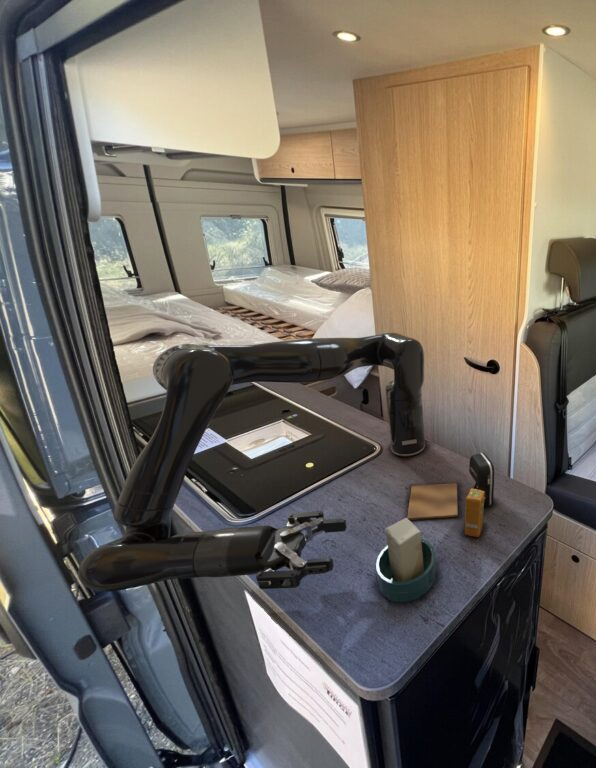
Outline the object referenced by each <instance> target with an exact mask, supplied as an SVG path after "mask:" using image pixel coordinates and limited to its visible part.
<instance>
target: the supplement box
mask: <svg viewBox="0 0 596 768" xmlns="http://www.w3.org/2000/svg"><path fill="white" fill-rule="evenodd" d="M484 495H485V492H484V491H482V490H477V489H473V488H470V489H469V493H468V494H467V496H466V498H465V509H464V510H465V512H464V535H466V536H470V537H475V538H479V537H480V535H481V533H482V530H483V525H484V509H485V508H484V507H485V506H484Z"/></svg>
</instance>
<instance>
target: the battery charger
mask: <svg viewBox="0 0 596 768" xmlns="http://www.w3.org/2000/svg"><path fill="white" fill-rule="evenodd" d="M468 468H469V470H468V472H469V474H470V476H471V477H472V479H473V480H474V482H475V483H474V486H473V488H472V489H477V490H482V491H484V492H485V495H484V507H488V506H491V505H493V504H494V490H495V466H494V463H493V462H492V461H491V459H490V458H489V457H488V455H487V454H486V453H485V452H479V453H476V454H473V455H471V456H470V458H469V467H468Z"/></svg>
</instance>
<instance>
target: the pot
mask: <svg viewBox="0 0 596 768" xmlns="http://www.w3.org/2000/svg"><path fill="white" fill-rule="evenodd" d="M421 544H422V555H423V566H424V573H423V574H421V575H420V576H418V577H417V578H415V579H412V580H409V581H402V582H398V581H397V580H396V579H395V578H394V576H393V575H392V573H391V566H390V559H389V551H388V544H386V545H385V547H383V549H382V550H381V551H380V552H379V554H378V555H377V557H376V561H375V572H376V578H377V579H376V580H377V585H378V589H379V592H380V593H381V594H382V596H383V597H384V598H386V599H387V600H389V601H392V602H395V603H407V602H412V601H415V600H417V599H419V598H421V597H423V596H424V595H425V594H426V593H427V592H428V591H430V589H431V588H432V586H433V585H434V583H435V580H436V577H437V562H436V552H435V549H434V546H433V545H432V544H431V543H430V542H429V541H427V540H425V539H423V538H421Z"/></svg>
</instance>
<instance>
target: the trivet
mask: <svg viewBox="0 0 596 768" xmlns="http://www.w3.org/2000/svg"><path fill="white" fill-rule="evenodd" d="M458 513H459V511H458V483H457V482H454V483H453V482H451V483H436V484H435V483H433V484H417V485H411V487H410V495H409V503H408V510H407V517H406V518H407V519H408V520H410V521H415V520H429V519H445V518H457V517H459V514H458Z"/></svg>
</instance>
